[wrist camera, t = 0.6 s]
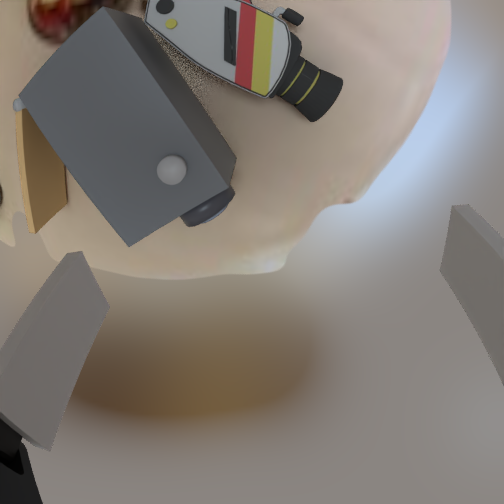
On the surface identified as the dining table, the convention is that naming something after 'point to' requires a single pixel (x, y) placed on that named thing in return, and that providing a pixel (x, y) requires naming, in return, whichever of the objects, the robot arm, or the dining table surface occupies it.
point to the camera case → (130, 128)
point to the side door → (38, 171)
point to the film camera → (246, 49)
